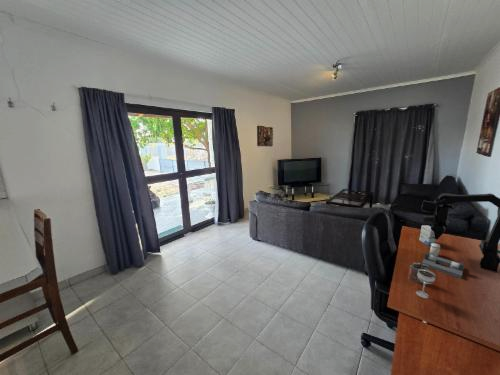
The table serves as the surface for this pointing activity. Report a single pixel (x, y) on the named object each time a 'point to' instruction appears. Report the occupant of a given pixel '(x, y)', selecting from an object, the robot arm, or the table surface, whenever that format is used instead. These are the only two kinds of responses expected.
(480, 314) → the table surface
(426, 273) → the wineglass
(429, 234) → the ink box
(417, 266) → the grey box
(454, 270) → the shaft mount
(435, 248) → the coupler
